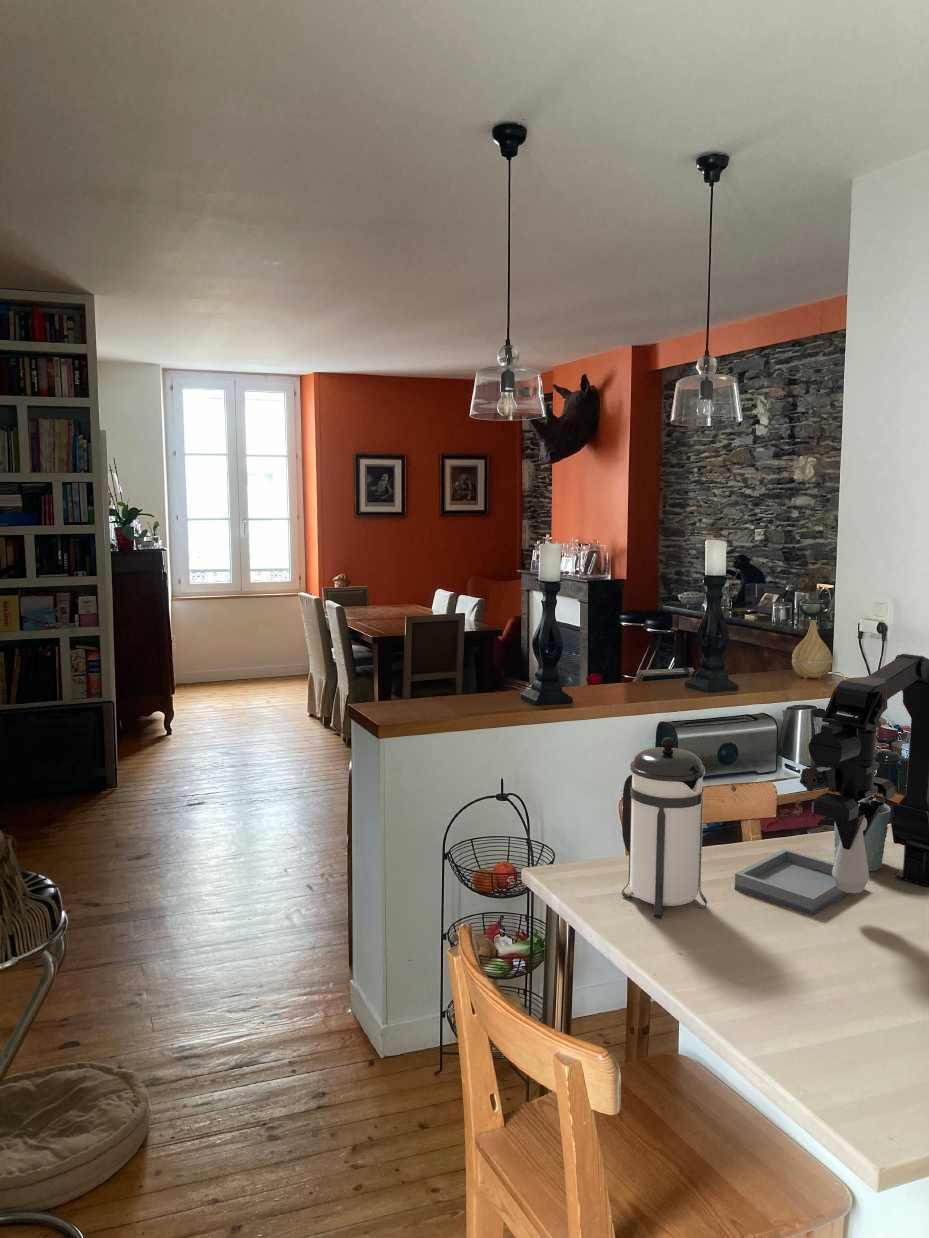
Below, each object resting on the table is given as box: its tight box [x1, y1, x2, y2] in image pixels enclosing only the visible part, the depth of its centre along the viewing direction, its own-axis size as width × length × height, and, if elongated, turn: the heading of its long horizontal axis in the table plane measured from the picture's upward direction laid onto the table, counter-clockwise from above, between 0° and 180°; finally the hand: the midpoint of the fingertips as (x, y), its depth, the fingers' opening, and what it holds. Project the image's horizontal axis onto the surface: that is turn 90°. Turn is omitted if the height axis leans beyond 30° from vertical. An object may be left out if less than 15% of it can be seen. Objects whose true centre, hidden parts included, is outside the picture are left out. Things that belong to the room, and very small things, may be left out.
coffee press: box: [621, 736, 708, 919], centre depth 162 cm, size 17×16×30 cm
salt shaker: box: [832, 817, 870, 894], centre depth 155 cm, size 6×6×13 cm
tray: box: [734, 848, 849, 916], centre depth 168 cm, size 18×15×3 cm
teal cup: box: [833, 803, 892, 872], centre depth 179 cm, size 10×10×12 cm
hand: (851, 845), depth 154 cm, fingers closed on salt shaker, 4 cm apart
